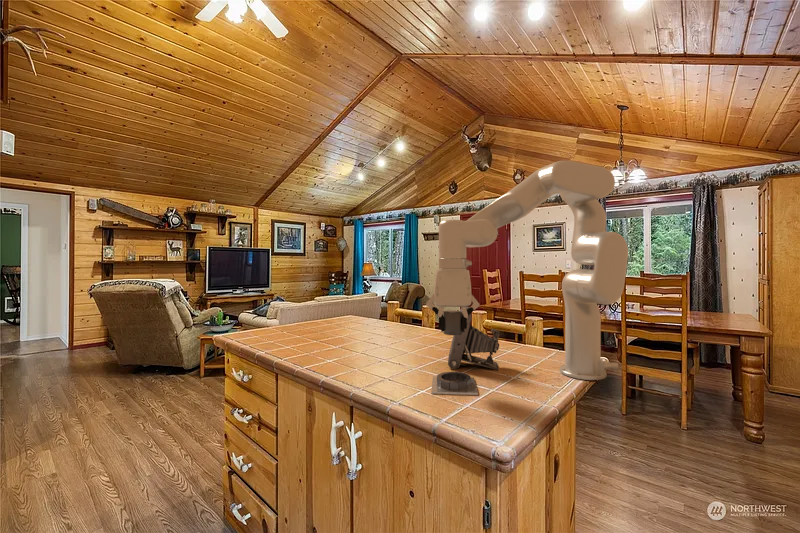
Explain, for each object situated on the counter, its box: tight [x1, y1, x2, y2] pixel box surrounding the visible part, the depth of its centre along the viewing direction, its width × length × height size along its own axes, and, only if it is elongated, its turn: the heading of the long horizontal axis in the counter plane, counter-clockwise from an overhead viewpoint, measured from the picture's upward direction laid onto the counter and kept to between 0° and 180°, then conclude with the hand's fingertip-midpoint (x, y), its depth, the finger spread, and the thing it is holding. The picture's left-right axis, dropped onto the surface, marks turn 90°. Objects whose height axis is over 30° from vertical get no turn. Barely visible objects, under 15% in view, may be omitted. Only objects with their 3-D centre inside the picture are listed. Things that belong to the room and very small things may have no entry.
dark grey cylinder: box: [443, 309, 462, 336], centre depth 98 cm, size 5×5×6 cm
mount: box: [430, 371, 479, 396], centre depth 99 cm, size 12×12×3 cm
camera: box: [447, 306, 500, 371], centre depth 117 cm, size 11×17×20 cm, turn 79°
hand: (452, 330), depth 98 cm, fingers closed on dark grey cylinder, 4 cm apart
